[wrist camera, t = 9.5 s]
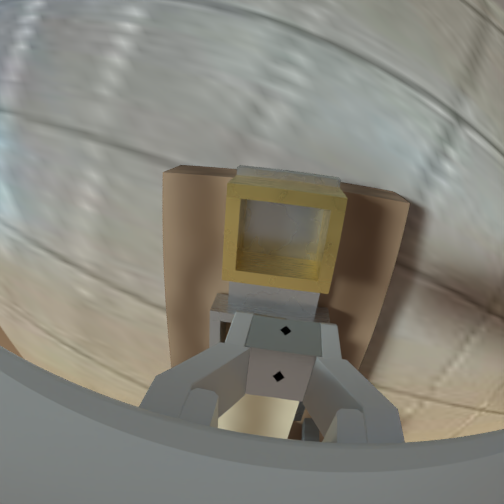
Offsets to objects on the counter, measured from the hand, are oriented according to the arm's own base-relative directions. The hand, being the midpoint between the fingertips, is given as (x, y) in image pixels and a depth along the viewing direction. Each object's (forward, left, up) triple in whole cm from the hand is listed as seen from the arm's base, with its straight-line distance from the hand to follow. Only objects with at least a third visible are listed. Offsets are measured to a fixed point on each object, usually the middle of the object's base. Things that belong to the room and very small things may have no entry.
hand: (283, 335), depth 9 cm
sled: (0, +13, -13) cm, 18 cm away
